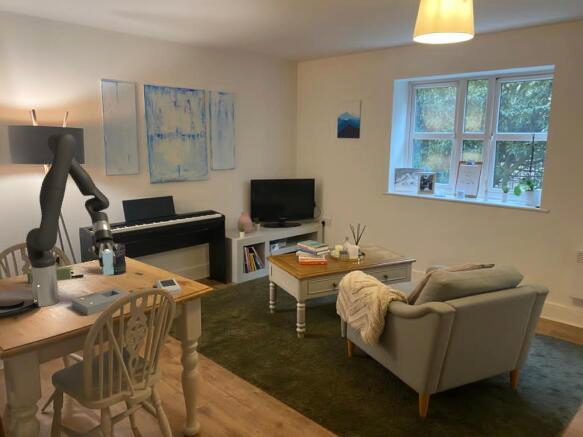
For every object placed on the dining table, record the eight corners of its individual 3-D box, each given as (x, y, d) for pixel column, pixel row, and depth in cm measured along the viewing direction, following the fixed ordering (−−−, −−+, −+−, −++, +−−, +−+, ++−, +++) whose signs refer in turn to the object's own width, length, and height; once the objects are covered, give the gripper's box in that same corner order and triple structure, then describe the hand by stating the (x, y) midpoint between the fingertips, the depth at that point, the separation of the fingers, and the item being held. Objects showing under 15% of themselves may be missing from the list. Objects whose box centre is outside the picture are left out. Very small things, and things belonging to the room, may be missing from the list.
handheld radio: (28, 282, 223) (83, 276, 233) (27, 284, 220) (83, 279, 230) (27, 269, 222) (82, 264, 231) (26, 272, 219) (82, 266, 228)
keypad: (174, 276, 223) (181, 286, 210) (174, 283, 224) (181, 293, 211) (154, 279, 219) (160, 289, 206) (155, 286, 220) (160, 296, 207)
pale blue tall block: (104, 275, 194) (102, 251, 192) (102, 272, 198) (101, 249, 196) (113, 274, 196) (112, 250, 194) (112, 271, 200) (110, 248, 198)
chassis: (87, 315, 184) (87, 306, 183) (72, 306, 192) (71, 298, 192) (132, 301, 199) (131, 293, 198) (116, 294, 208) (115, 286, 207)
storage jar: (103, 273, 238) (100, 245, 235) (119, 268, 246) (117, 242, 243) (114, 276, 232) (112, 248, 230) (130, 271, 240) (128, 245, 238)
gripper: (85, 230, 196) (90, 263, 188) (119, 227, 203) (126, 259, 195) (85, 239, 202) (90, 272, 194) (118, 236, 209) (124, 267, 201)
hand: (108, 265), depth 195 cm, fingers closed on pale blue tall block, 4 cm apart
